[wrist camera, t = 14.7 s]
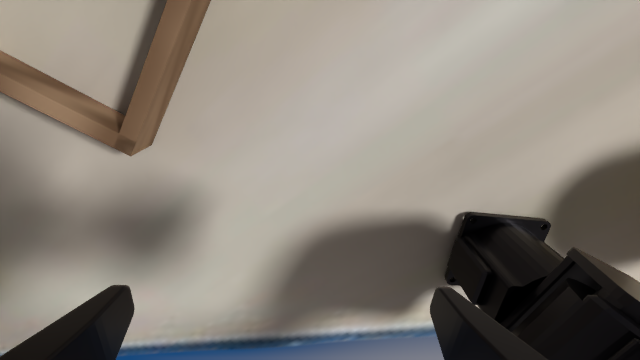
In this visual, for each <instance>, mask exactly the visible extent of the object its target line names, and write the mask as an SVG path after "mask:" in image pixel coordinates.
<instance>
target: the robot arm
mask: <svg viewBox="0 0 640 360" xmlns="http://www.w3.org/2000/svg"><path fill="white" fill-rule="evenodd" d="M472 218H474V219H473V220H472V221H470V220H471V219H472ZM542 225H543V226H542ZM541 226H542V227H541ZM550 227H551V224H550V223H549V222H548V221H547V220H545V219H540V218H529V217H518V216H507V215H496V214H485V213H474V212H472V213H468V214H467V215H466V216H465V217H464V220H463V223H462V226H461V229H460V232H459V235H458V238H457V239H456V240H455V243H454V246H453V249H452V252H451V255H450V258H449V261H448V268H447V271H446V274H445V280H446V282H447V283H448V284H450V285H460V286H461V287H462V289H463V290H464V292H465V294H466V295H467V297H468V298H469V300H470V301H471V302H470V301H468V300H467V299H466V298H464V297H463V296H461V295H460V294H459V293H457V292H456V291H455V290H453V289H452V288H450V287H438V288H436V290H435V292H434V296H433V299H432V302H431V305H430V314H431V318H432V321H433V324H434V327H435V331H436V334H437V337H438V340H439V344H440V347H441V350H442V354H443V357H444V360H640V282H638V281H637V280H635V279H634V278H632V277H631V276H629V275H627V274H625V273H623V272H621V271H619V270H617V269H615V268H614V267H612V266H610V265H608V264H606V263H604V262H602V261H600V260H598V259H596V258H594V257H592V256H590V255H588V254H586V253H584V252H582V251H581V250H579V249H577V248H575V247H573V248H572V249H571V250H570V251H569V252H568V253H567V255H568V256H567V257H566V258H565V259H564V258H563V257H562V256H561V255H559V254H558V253H557V252H556V251H554V250H553V249H552V248H551V247H550V246H548V245H547V244H546V243H545V242H544V240H545V238H546V236H547V234H548V232H549V230H550ZM450 278H452V279H450ZM475 305H478V307H479V308H480V309H479V308H478V307H476V306H475ZM133 314H134V303H133V299H132V294H131V290H130V287H129V286H127V285H112V286H110V287H108V288H107V289H105V290H104V291H102V292H100V293H99V294H97V295H96V296H94V297H93V298H91V299H89V300H88V301H86V302H85V303H83V304H82V305H80V306H79V307H77V308H75V309H74V310H72V311H71V312H69V313H68V314H66V315H64V316H63V317H61V318H60V319H58V320H57V321H55V322H54V323H52V324H50V325H49V326H47V327H46V328H44V329H43V330H41V331H39V332H38V333H36V334H35V335H33V336H32V337H30V338H29V339H27V340H25V341H24V342H22V343H21V344H19V345H18V346H16V347H14V348H13V349H11V350H10V351H8V352H7V353H5V354H4V355H2V356H0V360H116V357H117V355H118V352H119V350H120V347H121V345H122V342H123V340H124V337H125V335H126V332H127V330H128V327H129V325H130V322H131V320H132V317H133Z"/></svg>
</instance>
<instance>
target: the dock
mask: <svg viewBox="0 0 640 360" xmlns="http://www.w3.org/2000/svg"><path fill="white" fill-rule="evenodd" d="M210 1H211V0H167V2H166V5H165V8H164V11H163V13H162V16H161V19H160V22H159V24H158V27H157V30H156V33H155V36H154V38H153V41H152V44H151V47H150V49H149V52H148V55H147V58H146V60H145V63H144V66H143V69H142V72H141V74H140V77H139V80H138V83H137V85H136V88H135V91H134V94H133V96H132V99H131V102H130V105H129V107H128V110H127V113H126V116H125V115H123V114H121V113H119V112H117V111H115V110H113V109H111V108H109V107H108V106H106V105H104V104H102V103H100V102H98V101H96V100H94V99H92V98H90V97H88V96H87V95H85V94H83V93H81V92H79V91H77V90H75V89H73V88H71V87H69V86H67V85H65V84H64V83H62V82H60V81H58V80H56V79H54V78H52V77H50V76H48V75H46V74H44V73H43V72H41V71H39V70H37V69H35V68H33V67H31V66H29V65H27V64H25V63H23V62H21V61H20V60H18V59H16V58H14V57H12V56H10V55H8V54H6V53H4V52H2V51H0V92H2V93H4V94H6V95H8V96H10V97H12V98H14V99H16V100H18V101H20V102H22V103H24V104H26V105H28V106H30V107H32V108H34V109H36V110H38V111H40V112H42V113H44V114H46V115H48V116H50V117H52V118H54V119H56V120H58V121H60V122H62V123H64V124H66V125H68V126H71V127H73V128H75V129H77V130H79V131H81V132H83V133H85V134H87V135H89V136H91V137H93V138H95V139H97V140H99V141H101V142H103V143H105V144H107V145H109V146H111V147H113V148H115V149H117V150H119V151H121V152H123V153H125V154H127V155H129V156H132V155H134V154H136V153H138V152H140V151H141V150H143V149H145V148H147V147H149V146H151V145H152V143H153V141H154V138H155V136H156V133H157V131H158V128H159V126H160V123H161V121H162V119H163V116H164V114H165V111H166V109H167V106H168V104H169V101H170V99H171V97H172V94H173V92H174V89H175V87H176V84H177V82H178V79H179V77H180V75H181V72H182V70H183V67H184V65H185V62H186V60H187V57H188V55H189V53H190V50H191V48H192V45H193V43H194V40H195V38H196V35H197V33H198V30H199V28H200V26H201V23H202V21H203V18H204V16H205V13H206V11H207V8H208V6H209V4H210Z"/></svg>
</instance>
